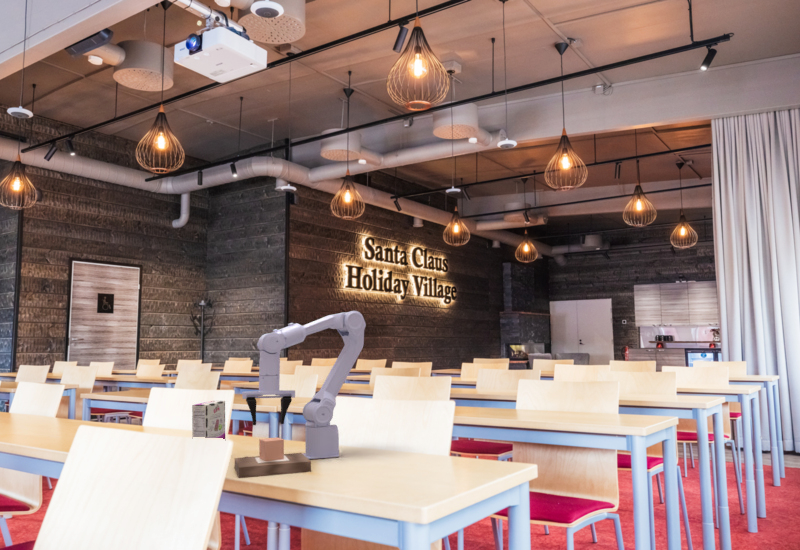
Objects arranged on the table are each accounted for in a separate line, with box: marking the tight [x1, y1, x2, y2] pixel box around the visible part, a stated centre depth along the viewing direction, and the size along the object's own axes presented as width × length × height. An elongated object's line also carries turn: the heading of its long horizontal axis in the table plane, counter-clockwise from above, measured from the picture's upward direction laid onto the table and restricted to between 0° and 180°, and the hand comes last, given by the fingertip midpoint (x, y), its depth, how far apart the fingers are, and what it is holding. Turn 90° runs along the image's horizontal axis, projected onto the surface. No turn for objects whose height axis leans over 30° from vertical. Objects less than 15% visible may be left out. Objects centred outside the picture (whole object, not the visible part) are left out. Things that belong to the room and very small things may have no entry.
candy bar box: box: [191, 400, 226, 440], centre depth 181 cm, size 11×5×16 cm, turn 168°
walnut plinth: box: [234, 452, 312, 479], centre depth 164 cm, size 18×14×3 cm
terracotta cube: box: [258, 437, 285, 461], centre depth 164 cm, size 5×5×5 cm
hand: (268, 424), depth 175 cm, fingers open, 7 cm apart
